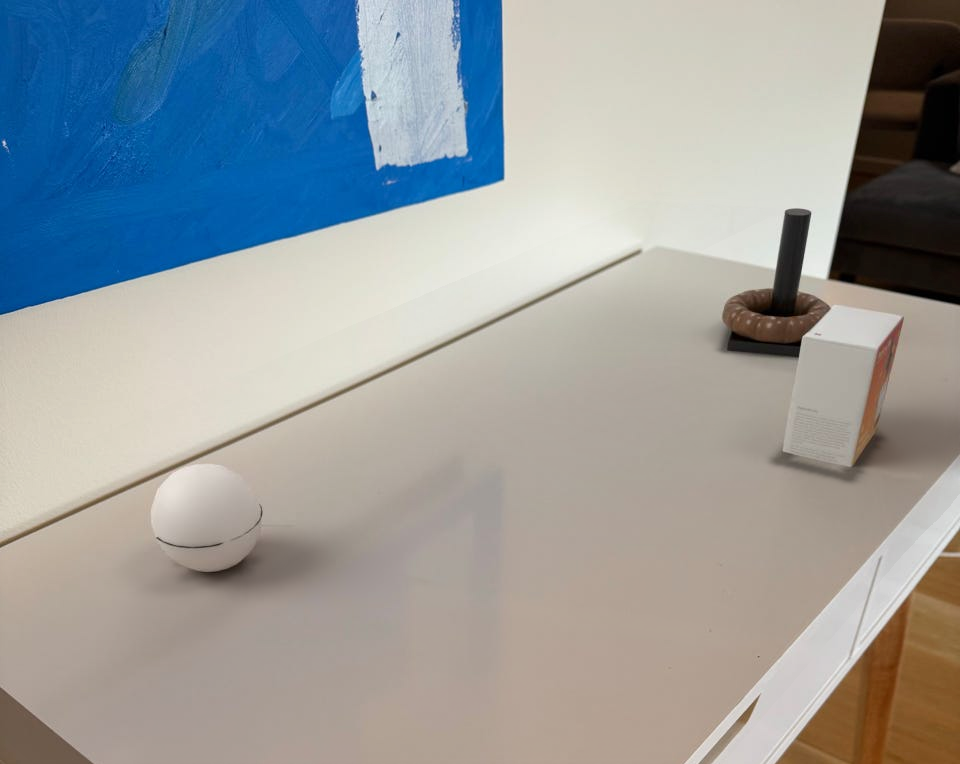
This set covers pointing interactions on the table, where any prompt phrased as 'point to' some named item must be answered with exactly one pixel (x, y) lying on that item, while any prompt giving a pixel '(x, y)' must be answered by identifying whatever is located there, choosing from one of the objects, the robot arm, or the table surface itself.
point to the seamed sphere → (206, 517)
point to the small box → (841, 384)
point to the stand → (782, 284)
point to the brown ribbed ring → (750, 323)
